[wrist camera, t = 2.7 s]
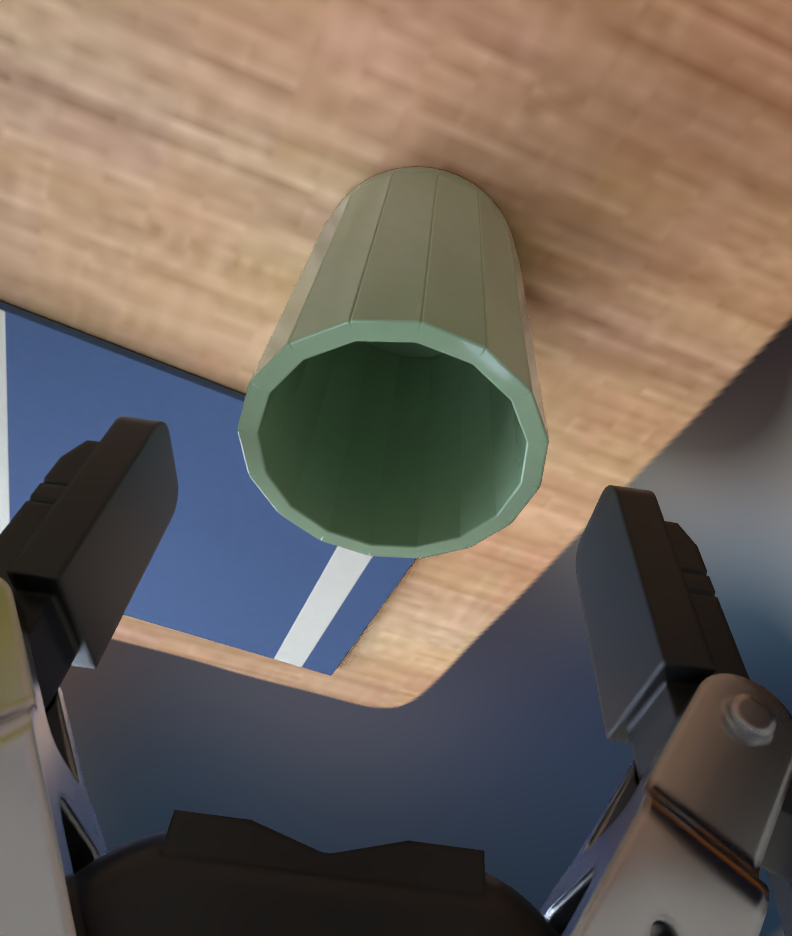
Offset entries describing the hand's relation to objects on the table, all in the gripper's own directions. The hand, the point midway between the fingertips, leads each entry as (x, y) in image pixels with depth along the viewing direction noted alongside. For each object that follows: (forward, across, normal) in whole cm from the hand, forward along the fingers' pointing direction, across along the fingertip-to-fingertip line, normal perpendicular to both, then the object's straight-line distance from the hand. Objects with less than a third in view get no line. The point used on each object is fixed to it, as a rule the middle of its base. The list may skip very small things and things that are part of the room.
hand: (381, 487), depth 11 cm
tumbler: (+9, 0, 0) cm, 9 cm away
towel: (+9, +9, +12) cm, 18 cm away
